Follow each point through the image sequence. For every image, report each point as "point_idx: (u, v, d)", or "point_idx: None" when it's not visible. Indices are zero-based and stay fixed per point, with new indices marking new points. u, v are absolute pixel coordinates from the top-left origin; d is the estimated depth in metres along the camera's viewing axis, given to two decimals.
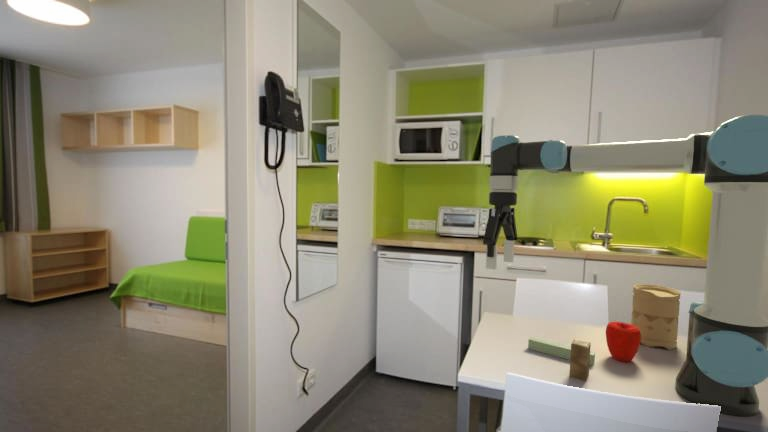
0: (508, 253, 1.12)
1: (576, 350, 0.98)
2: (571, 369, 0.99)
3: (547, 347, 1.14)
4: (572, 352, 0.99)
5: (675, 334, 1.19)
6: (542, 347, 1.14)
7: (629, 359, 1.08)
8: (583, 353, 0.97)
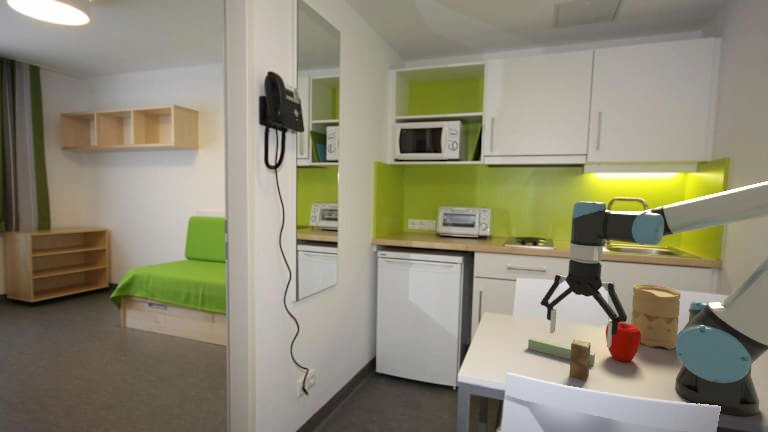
0: None
1: (576, 350, 0.98)
2: (571, 369, 0.99)
3: (547, 347, 1.14)
4: (572, 352, 0.99)
5: (675, 334, 1.19)
6: (542, 347, 1.14)
7: (629, 359, 1.08)
8: (583, 353, 0.97)
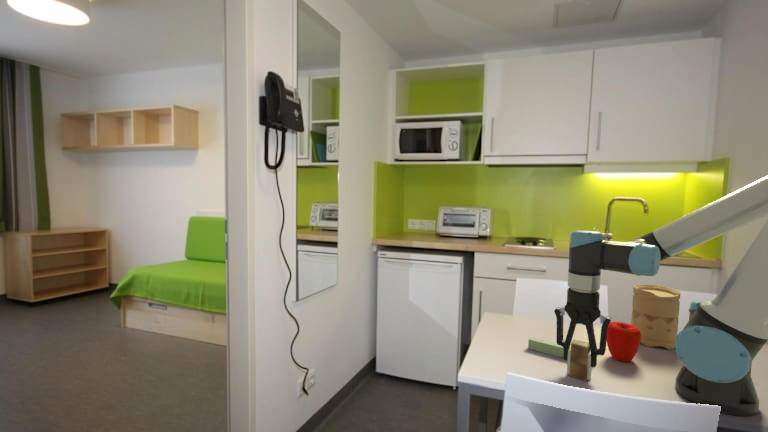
0: None
1: (576, 350, 0.98)
2: (571, 369, 0.99)
3: (547, 347, 1.14)
4: (572, 352, 0.99)
5: (675, 334, 1.19)
6: (542, 347, 1.14)
7: (629, 359, 1.08)
8: (583, 353, 0.97)
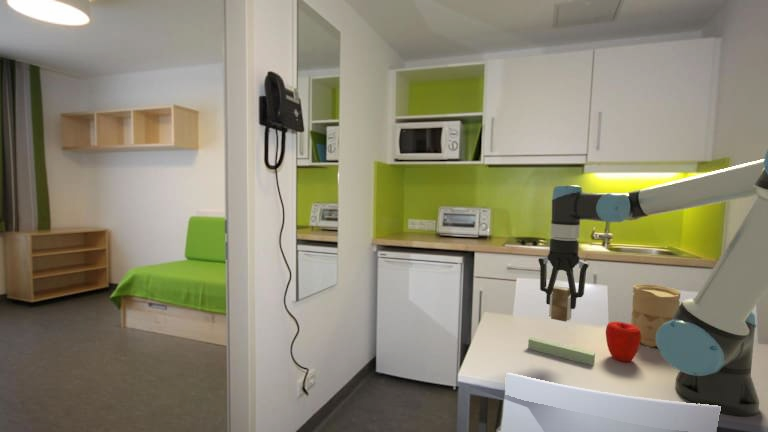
0: None
1: (557, 294, 1.08)
2: (552, 312, 1.09)
3: (547, 347, 1.14)
4: (553, 296, 1.09)
5: None
6: (542, 347, 1.14)
7: (629, 359, 1.08)
8: (563, 296, 1.07)
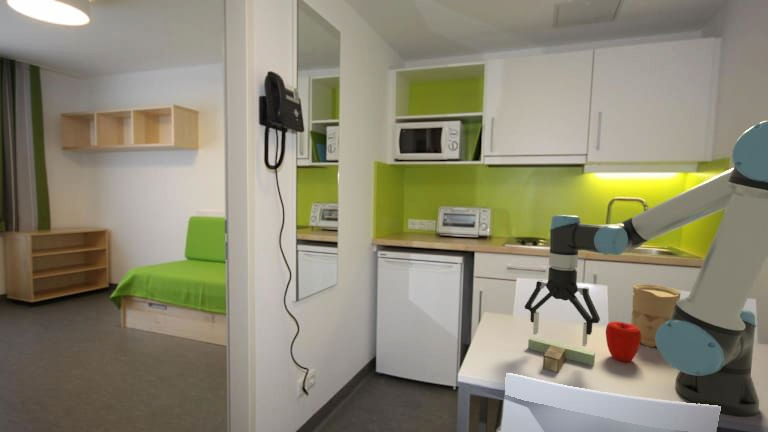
0: None
1: None
2: None
3: (547, 347, 1.14)
4: None
5: None
6: (542, 347, 1.14)
7: (629, 359, 1.08)
8: None
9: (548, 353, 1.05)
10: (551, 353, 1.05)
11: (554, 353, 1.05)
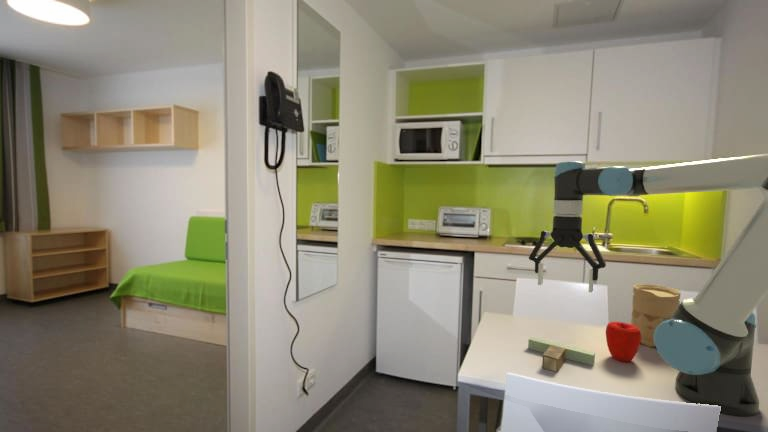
0: None
1: None
2: None
3: (547, 347, 1.14)
4: None
5: None
6: (542, 347, 1.14)
7: (629, 359, 1.08)
8: None
9: (548, 353, 1.05)
10: (550, 353, 1.05)
11: (554, 353, 1.05)
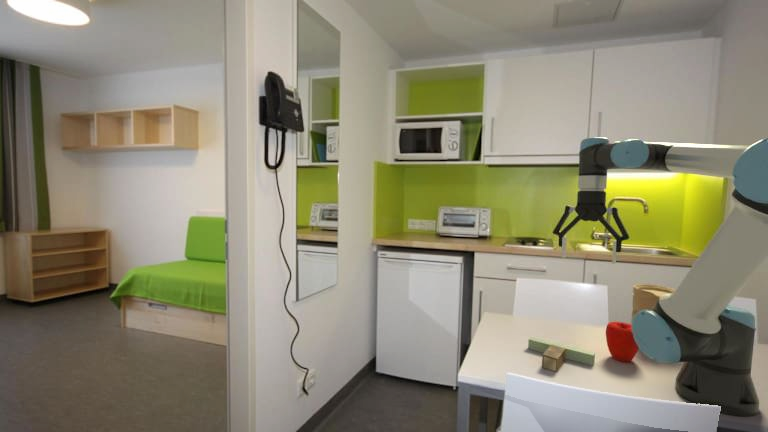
0: (613, 254, 1.09)
1: None
2: None
3: (547, 347, 1.14)
4: None
5: None
6: (542, 347, 1.14)
7: (629, 359, 1.08)
8: None
9: (548, 352, 1.05)
10: (550, 352, 1.05)
11: (554, 353, 1.05)
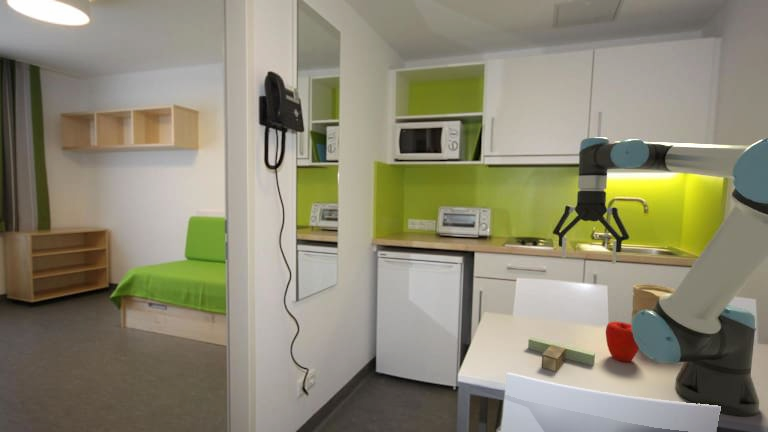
0: (613, 254, 1.09)
1: None
2: None
3: (547, 347, 1.14)
4: None
5: None
6: (542, 347, 1.14)
7: (629, 359, 1.08)
8: None
9: (547, 352, 1.05)
10: (550, 352, 1.05)
11: (553, 353, 1.05)
